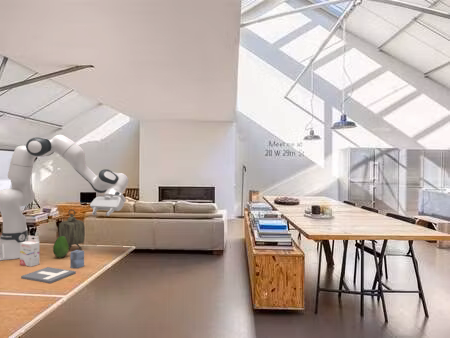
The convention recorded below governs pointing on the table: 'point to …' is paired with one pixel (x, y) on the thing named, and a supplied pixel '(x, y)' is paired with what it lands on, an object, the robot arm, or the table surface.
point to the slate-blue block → (77, 259)
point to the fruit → (60, 247)
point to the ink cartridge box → (30, 251)
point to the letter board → (48, 275)
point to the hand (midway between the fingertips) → (100, 214)
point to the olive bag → (72, 230)
